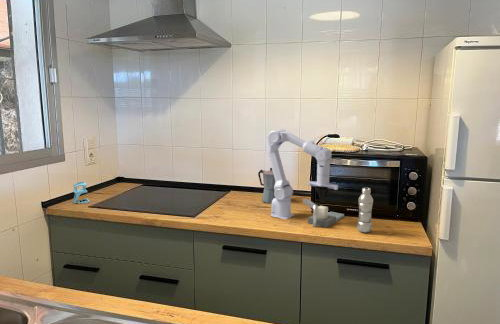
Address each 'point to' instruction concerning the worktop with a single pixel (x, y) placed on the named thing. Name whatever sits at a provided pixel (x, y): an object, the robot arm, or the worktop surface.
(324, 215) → the plug
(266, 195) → the moka pot
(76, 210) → the worktop surface
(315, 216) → the grey piece
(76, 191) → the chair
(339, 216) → the tile
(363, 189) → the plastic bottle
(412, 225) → the worktop surface
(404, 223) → the worktop surface
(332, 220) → the socket block
